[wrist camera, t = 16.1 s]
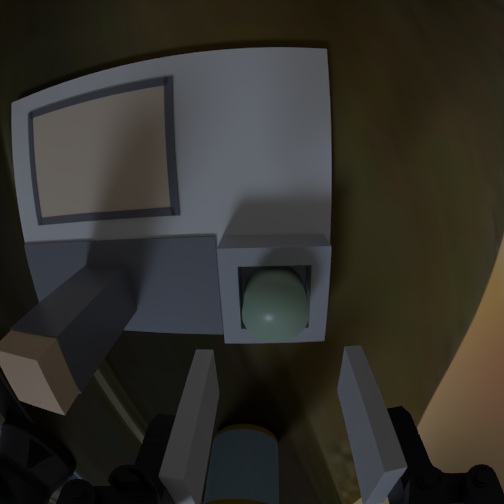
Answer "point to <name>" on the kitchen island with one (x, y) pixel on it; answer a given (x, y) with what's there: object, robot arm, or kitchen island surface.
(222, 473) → the bottle
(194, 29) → the kitchen island surface
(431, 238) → the kitchen island surface
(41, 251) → the board
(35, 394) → the two-tone square rod
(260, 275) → the button
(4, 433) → the robot arm
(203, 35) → the kitchen island surface
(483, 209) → the kitchen island surface
